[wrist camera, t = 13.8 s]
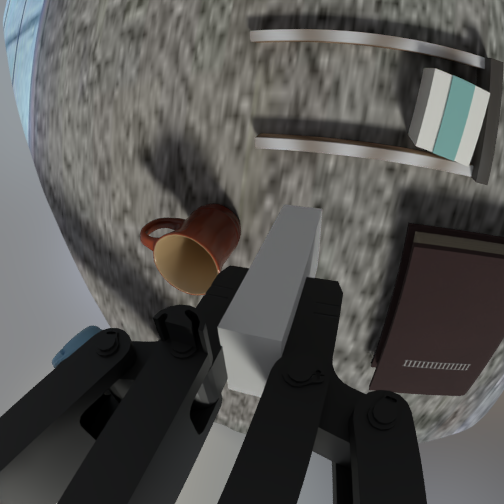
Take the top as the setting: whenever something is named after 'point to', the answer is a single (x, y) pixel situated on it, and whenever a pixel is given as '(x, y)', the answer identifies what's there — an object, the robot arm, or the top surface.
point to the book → (442, 313)
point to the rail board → (478, 167)
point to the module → (448, 115)
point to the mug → (193, 246)
